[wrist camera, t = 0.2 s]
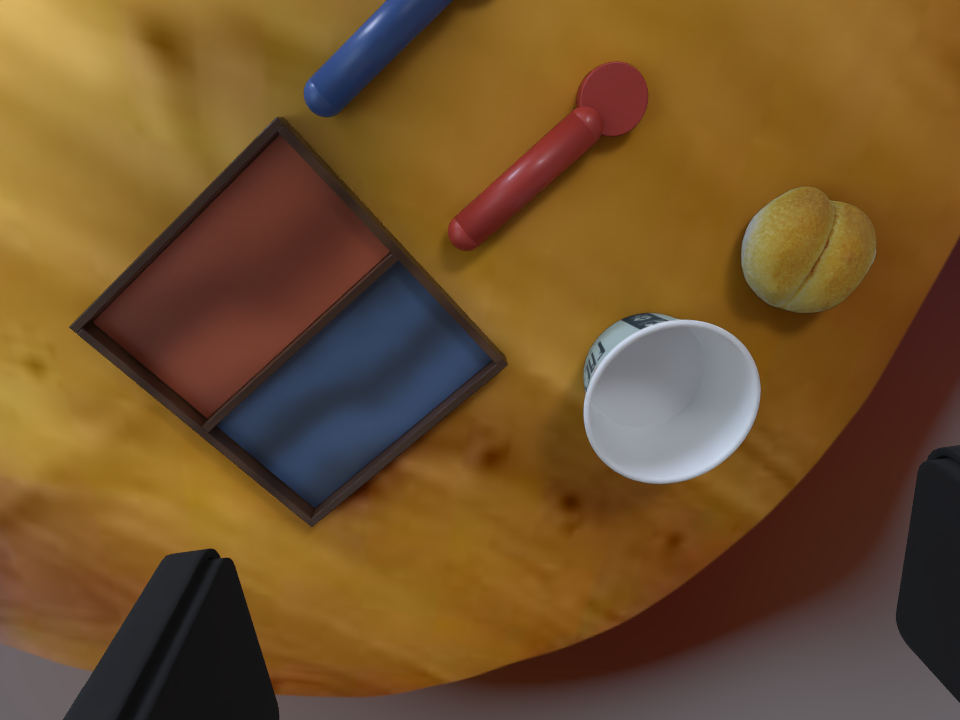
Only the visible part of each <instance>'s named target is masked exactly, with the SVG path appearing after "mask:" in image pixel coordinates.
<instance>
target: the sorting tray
mask: <svg viewBox="0 0 960 720" xmlns="http://www.w3.org/2000/svg"><path fill="white" fill-rule="evenodd" d="M69 328H70V329H72V330H73V331H74V332H75V333H77V334H78V335H79V336H80V337H81V338H82V339H84V340H85V341H86V342H87V343H89V344H90V345H91V346H92V347H93V348H95V349H96V350H97V351H98V352H99V353H101V354H102V355H103V356H104V357H106V358H107V359H108V360H109V361H110V362H112V363H113V364H114V365H115V366H116V367H118V368H119V369H120V370H121V371H123V372H124V373H125V374H126V375H127V376H129V377H130V378H131V379H132V380H133V381H135V382H136V383H137V384H138V385H140V386H141V387H142V388H143V389H144V390H146V391H147V392H148V393H149V394H150V395H152V396H153V397H154V398H155V399H157V400H158V401H159V402H160V403H161V404H163V405H164V406H165V407H166V408H167V409H169V410H170V411H171V412H172V413H174V414H175V415H176V416H177V417H178V418H180V419H181V420H182V421H183V422H184V423H186V424H187V425H188V426H189V427H191V428H192V429H193V430H194V431H195V432H197V433H198V434H199V435H200V436H201V437H203V438H204V439H205V440H206V441H208V442H209V443H210V444H211V445H212V446H214V447H215V448H216V449H217V450H218V451H220V452H221V453H222V454H223V455H225V456H226V457H227V458H228V459H229V460H231V461H232V462H233V463H234V464H235V465H237V466H238V467H239V468H240V469H242V470H243V471H244V472H245V473H246V474H248V475H249V476H250V477H251V478H252V479H254V480H255V481H256V482H257V483H259V484H260V485H261V486H262V487H263V488H265V489H266V490H267V491H268V492H269V493H271V494H272V495H273V496H274V497H276V498H277V499H278V500H279V501H280V502H282V503H283V504H284V505H285V506H286V507H288V508H289V509H290V510H291V511H293V512H294V513H295V514H296V515H297V516H299V517H300V518H301V519H302V520H303V521H305V522H307V524H308V525H310V526H311V527H313V526H314V525H315V524H316V523H318V522H319V521H320V520H321V519H322V518H324V517H325V516H326V515H327V514H328V513H330V512H331V511H332V510H333V509H334V508H336V507H337V506H338V505H339V504H341V503H342V502H343V501H344V500H345V499H347V498H348V497H349V496H350V495H351V494H353V493H354V492H355V491H356V490H357V489H359V488H360V487H361V486H362V485H363V484H365V483H366V482H367V481H368V480H369V479H371V478H372V477H373V476H374V475H376V474H377V473H378V472H379V471H380V470H382V469H383V468H384V467H385V466H386V465H388V464H389V463H390V462H391V461H392V460H394V459H395V458H396V457H397V456H398V455H400V454H401V453H402V452H403V451H404V450H406V449H407V448H408V447H409V446H411V445H412V444H413V443H414V442H415V441H417V440H418V439H419V438H420V437H421V436H423V435H424V434H425V433H426V432H427V431H429V430H430V429H431V428H432V427H433V426H435V425H436V424H437V423H438V422H439V421H441V420H442V419H443V418H444V417H446V416H447V415H448V414H449V413H450V412H452V411H453V410H454V409H455V408H456V407H458V406H459V405H460V404H461V403H462V402H464V401H465V400H466V399H467V398H468V397H470V396H471V395H472V394H473V393H474V392H476V391H477V390H478V389H479V388H481V387H482V386H483V385H484V384H485V383H487V382H488V381H489V380H490V379H491V378H493V377H494V376H495V375H496V374H497V373H499V372H500V371H501V370H502V369H503V368H505V367H506V366H507V365H508V364H507V361H506V357H505V355H504V354H503V353H502V352H501V351H500V350H499V349H498V348H497V347H496V346H495V345H494V343H493V342H492V341H491V340H490V339H489V338H488V337H487V336H486V335H485V334H484V333H483V332H482V331H481V329H480V328H479V327H478V326H477V325H476V324H475V323H474V322H473V321H472V320H471V319H470V318H469V317H468V315H467V314H466V313H465V312H464V311H463V310H462V309H461V308H460V307H459V306H458V305H457V304H456V303H455V301H454V300H453V299H452V298H451V297H450V296H449V295H448V294H447V293H446V292H445V291H444V290H443V289H442V287H441V286H440V285H439V284H438V283H437V282H436V281H435V280H434V279H433V278H432V277H431V276H430V275H429V273H428V272H427V271H426V270H425V269H424V268H423V267H422V266H421V265H420V264H419V263H418V262H417V261H416V260H415V258H414V257H413V256H412V255H411V254H410V253H409V252H408V251H407V250H406V249H405V248H404V247H403V246H402V244H401V243H400V242H399V241H398V240H397V239H396V238H395V237H394V236H393V235H392V234H391V233H390V232H389V230H388V229H387V228H386V227H385V226H384V225H383V224H382V223H381V222H380V221H379V220H378V219H377V218H376V216H375V215H374V214H373V213H372V212H371V211H370V210H369V209H368V208H367V207H366V206H365V205H364V204H363V202H362V201H361V200H360V199H359V198H358V197H357V196H356V195H355V194H354V193H353V192H352V191H351V190H350V188H349V187H348V186H347V185H346V184H345V183H344V182H343V181H342V180H341V179H340V178H339V177H338V176H337V174H336V173H335V172H334V171H333V170H332V169H331V168H330V167H329V166H328V165H327V164H326V163H325V162H324V160H323V159H322V158H321V157H320V156H319V155H318V154H317V153H316V152H315V151H314V150H313V149H312V148H311V146H310V145H309V144H308V143H307V142H306V141H305V140H304V139H303V138H302V137H301V136H300V135H299V134H298V132H297V131H296V130H295V129H294V128H293V127H292V126H291V125H290V124H289V123H288V122H287V121H286V120H285V119H284V118H283V117H276V118H275V119H274V120H273V121H272V122H271V123H270V124H269V125H268V126H267V127H266V128H265V129H264V130H263V131H262V132H261V133H260V134H259V135H258V136H257V137H256V138H255V139H254V140H253V141H252V143H251V144H250V145H249V146H248V147H247V148H246V149H245V150H244V151H243V152H242V153H241V154H240V155H239V156H238V157H237V158H236V159H235V160H234V161H233V162H232V163H231V164H230V165H229V166H228V167H227V168H226V169H225V170H224V171H223V172H222V173H221V174H220V175H219V176H218V177H217V178H216V179H215V180H214V181H213V182H212V183H211V184H210V185H209V186H208V187H207V188H206V189H205V190H204V191H203V192H202V193H201V194H200V195H199V196H198V197H197V198H196V199H195V200H194V201H193V202H192V203H191V204H190V205H189V206H188V207H187V208H186V209H185V210H184V211H183V212H182V213H181V214H180V215H179V216H178V217H177V218H176V219H175V220H174V221H173V222H172V223H171V224H170V226H169V227H168V228H167V229H166V230H165V231H164V232H163V233H162V234H161V235H160V236H159V237H158V238H157V239H156V240H155V241H154V242H153V243H152V244H151V245H150V246H149V247H148V248H147V249H146V250H145V251H144V252H143V253H142V254H141V255H140V256H139V257H138V258H137V259H136V260H135V261H134V262H133V263H132V264H131V265H130V266H129V267H128V268H127V269H126V270H125V271H124V272H123V273H122V274H121V275H120V276H119V277H118V278H117V279H116V280H115V281H114V282H113V283H112V284H111V285H110V286H109V287H108V288H107V289H106V290H105V291H104V292H103V293H102V294H101V295H100V296H99V297H98V298H97V299H96V300H95V301H94V302H93V303H92V304H91V305H90V306H89V307H88V308H87V310H86V311H85V312H84V313H83V314H82V315H81V316H80V317H79V318H78V319H77V320H76V321H75V322H74V323H73V324H72V325H71V326H70V327H69Z"/></svg>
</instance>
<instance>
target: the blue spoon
mask: <svg viewBox="0 0 960 720" xmlns="http://www.w3.org/2000/svg"><path fill="white" fill-rule="evenodd" d="M452 1H453V0H387V1H386V2H385V3H384V4H383V5H382V6H381V7H380V8H379V9H378V10H377V11H376V12H375V13H374V14H373V15H372V16H371V17H370V18H369V19H368V20H367V21H366V22H365V23H364V24H363V25H362V26H361V27H360V28H359V29H358V30H357V31H356V32H355V33H354V34H353V35H352V36H351V37H350V38H349V39H348V40H347V41H346V42H345V43H344V44H343V45H342V46H341V47H340V48H339V49H338V50H337V51H336V52H335V53H334V54H333V55H332V56H331V58H330V59H329V60H328V61H327V62H326V63H325V64H324V65H323V66H322V67H321V68H320V69H319V70H318V71H317V72H316V73H315V74H314V75H313V76H312V77H311V78H310V79H309V80H308V81H307V83H306V85H305V88H304V99H305V102H306V104H307V106H308V108H309V109H310V110H311V111H312V112H313V113H315V114H316V115H318V116H321V117H332V116H335V115H337V114H338V113H339V112H341V111H342V110H343V109H344V108H345V107H346V106H347V105H348V104H349V103H350V102H351V101H352V100H353V99H354V98H355V97H356V96H357V95H358V94H359V93H360V92H361V91H362V90H363V89H364V88H365V87H366V86H367V85H368V84H369V83H370V82H371V81H372V80H373V79H374V78H375V77H376V76H377V75H378V74H379V73H380V72H381V71H382V70H383V69H384V68H385V67H386V66H387V65H388V64H389V63H390V62H391V61H392V60H393V59H394V58H395V57H396V56H397V55H398V54H399V53H400V52H401V51H402V50H403V49H404V48H405V47H406V46H407V45H408V44H409V43H410V42H411V41H412V40H413V39H414V38H415V37H416V36H417V35H418V34H419V33H420V32H421V31H422V30H423V29H425V28H426V27H427V26H428V25H429V24H430V23H431V22H432V21H433V20H434V19H435V18H436V17H437V16H438V15H439V14H440V13H441V12H442V11H443V10H444V9H445V8H446V7H447V6H448V5H449V4H450V3H451V2H452Z"/></svg>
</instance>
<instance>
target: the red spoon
mask: <svg viewBox="0 0 960 720" xmlns="http://www.w3.org/2000/svg"><path fill="white" fill-rule="evenodd" d="M647 103H648V89H647V85H646V82H645V80H644V78H643V76H642V75H641V73H640V72H639V71H638V70H637V69H636V68H634V67H633V66H631V65H629V64H627V63H624V62H609V63H606V64H602V65H600V66H598V67H596V68H594V69H593V70H592V71H590V72H589V73H588V74H587V75H586V76H585V78H584V79H583V81H582V82H581V84H580V87H579V89H578V93H577V100H576V104H577V108H576V109H574V110H573V111H572V112H570V113H569V114H568V115H567V116H566V117H565V118H564V119H563V120H562V121H560V122H559V123H558V124H557V125H556V126H555V127H554V128H553V129H552V130H551V131H549V132H548V133H547V134H546V135H545V136H544V137H543V138H542V139H541V140H539V141H538V142H537V143H536V144H535V145H534V146H533V147H532V148H531V149H529V150H528V151H527V152H526V153H525V154H524V155H523V156H522V157H521V158H520V159H518V160H517V161H516V162H515V163H514V164H513V165H512V166H511V167H510V168H508V169H507V170H506V171H505V172H504V173H503V174H502V175H501V176H500V177H498V178H497V179H496V180H495V181H494V182H493V183H492V184H491V185H490V186H489V187H487V188H486V189H485V190H484V191H483V192H482V193H481V194H480V195H479V196H477V197H476V198H475V199H474V200H473V201H472V202H471V203H470V204H469V205H467V206H466V207H465V208H464V209H463V210H462V211H461V212H460V213H459V214H458V215H456V216H455V217H454V218H453V219H452V221H451V222H450V224H449V227H448V236H449V239H450V241H451V243H452V244H453V245H454V246H455V247H456V248H458V249H460V250H464V251H470V250H473V249H476V248H477V247H479V246H480V245H481V244H482V243H483V242H484V241H485V240H486V239H488V238H489V237H490V236H491V235H492V234H493V233H494V232H496V231H497V230H498V229H499V228H500V227H501V226H502V225H503V224H505V223H506V222H507V221H508V220H509V219H510V218H511V217H513V216H514V215H515V214H516V213H517V212H518V211H519V210H520V209H522V208H523V207H524V206H525V205H526V204H527V203H528V202H530V201H531V200H532V199H533V198H534V197H535V196H536V195H537V194H539V193H540V192H541V191H542V190H543V189H544V188H545V187H546V186H548V185H549V184H550V183H551V182H552V181H553V180H554V179H556V178H557V177H558V176H559V175H560V174H561V173H562V172H563V171H565V170H566V169H567V168H568V167H569V166H570V165H571V164H573V163H574V162H575V161H576V160H577V159H578V158H579V157H580V156H582V155H583V154H584V153H585V152H586V151H587V150H588V149H590V148H591V147H592V146H593V145H594V144H595V143H596V142H597V141H598V140H599V139H600V137H601V136H619V135H623V134H625V133H627V132H629V131H630V130H632V129H633V128H634V127H635V126H636V125H637V124H638V123H639V122H640V120H641V119H642V117H643V115H644V113H645V111H646V108H647Z"/></svg>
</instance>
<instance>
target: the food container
mask: <svg viewBox="0 0 960 720" xmlns="http://www.w3.org/2000/svg"><path fill="white" fill-rule="evenodd" d="M584 387H585V394H586V396H585V401H584V412H583V413H584V425H585V430H586V433H587V437H588V439H589V442H590V444H591V446H592V447H593V449H594V451H595V452H596V454H597V455H598V456H599V458H600V459H601V460H602V461H603V462H604V463H605V464H606V465H607V466H609V467H610V468H611V469H613V470H614V471H615V472H617V473H619V474H621V475H623V476H625V477H627V478H630V479H633V480H636V481H640V482H644V483H652V484H668V483H676V482H681V481H685V480H688V479H692V478H694V477H697V476H700V475H702V474H704V473H706V472H708V471H710V470H711V469H713V468H715V467H716V466H718V465H719V464H721V463H722V462H723V461H724V460H726V459H727V458H728V457H729V456H730V455H731V454H732V453H733V452H734V451H735V450H736V449H737V448H738V447H739V446H740V445H741V443H742V442H743V440H744V439H745V438H746V436H747V434H748V433H749V431H750V429H751V427H752V425H753V423H754V421H755V418H756V415H757V412H758V408H759V402H760V379H759V374H758V370H757V367H756V365H755V362H754V360H753V358H752V356H751V354H750V353H749V351H748V350H747V349H746V347H745V346H744V345H743V344H742V343H741V342H740V341H739V340H738V339H737V338H736V337H735V336H733V335H732V334H730V333H729V332H728V331H726V330H724V329H722V328H720V327H718V326H715V325H713V324H710V323H706V322H702V321H696V320H679V319H676V318H673V317H670V316H667V315H663V314H657V313H642V314H636V315H632V316H629V317H626V318H624V319H622V320H620V321H618V322H616V323H614V324H613V325H611V326H610V327H609V328H607V329H606V330H605V331H604V332H603V333H602V334H601V335H600V336H599V337H598V338H597V340H596V341H595V342H594V344H593V345H592V347H591V349H590V351H589V353H588V355H587V358H586V361H585V366H584Z"/></svg>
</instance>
